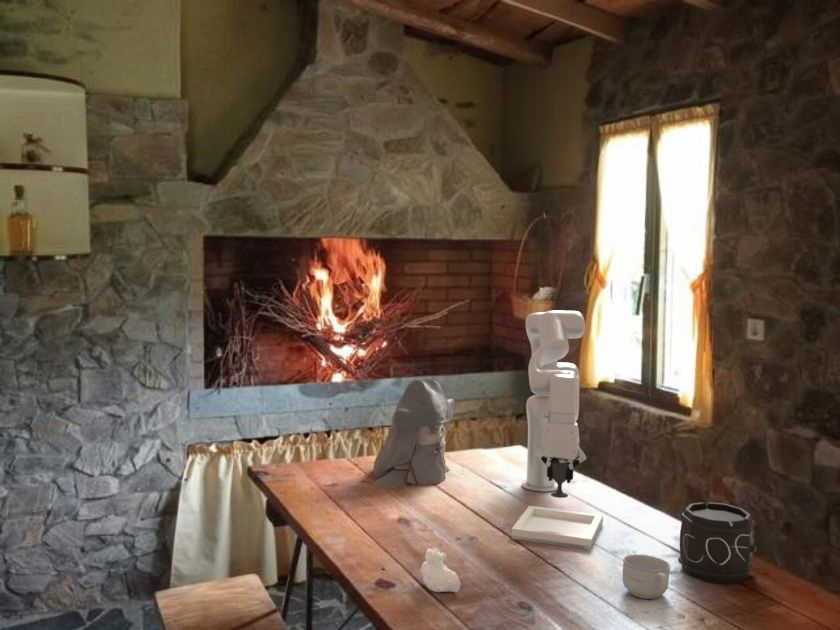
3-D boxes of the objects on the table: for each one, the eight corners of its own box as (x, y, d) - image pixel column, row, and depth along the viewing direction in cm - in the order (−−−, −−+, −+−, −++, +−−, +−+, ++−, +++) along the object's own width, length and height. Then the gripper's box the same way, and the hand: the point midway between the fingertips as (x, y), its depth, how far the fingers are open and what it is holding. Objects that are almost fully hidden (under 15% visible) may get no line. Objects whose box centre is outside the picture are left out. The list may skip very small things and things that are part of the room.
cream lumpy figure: (420, 590, 203) (399, 561, 198) (438, 565, 207) (418, 537, 201) (455, 606, 194) (434, 577, 189) (473, 580, 198) (453, 551, 193)
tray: (529, 515, 254) (529, 505, 254) (602, 524, 246) (602, 514, 246) (511, 538, 233) (511, 528, 233) (591, 550, 226) (591, 539, 226)
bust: (419, 497, 270) (421, 390, 267) (346, 476, 292) (347, 377, 289) (482, 476, 296) (484, 378, 292) (410, 459, 318) (412, 367, 315)
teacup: (615, 585, 203) (617, 553, 202) (659, 584, 204) (660, 552, 203) (635, 610, 189) (636, 575, 189) (681, 609, 190) (683, 575, 189)
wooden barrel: (746, 592, 200) (750, 528, 198) (671, 575, 209) (673, 514, 208) (760, 568, 215) (763, 509, 214) (689, 553, 224) (692, 496, 223)
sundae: (570, 492, 242) (571, 441, 241) (572, 499, 235) (573, 446, 234) (547, 491, 242) (548, 440, 241) (548, 498, 236) (549, 445, 235)
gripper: (529, 417, 236) (527, 480, 238) (589, 422, 231) (587, 487, 232) (535, 412, 243) (533, 474, 245) (594, 417, 238) (591, 480, 239)
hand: (559, 480), depth 238 cm, fingers closed on sundae, 4 cm apart
